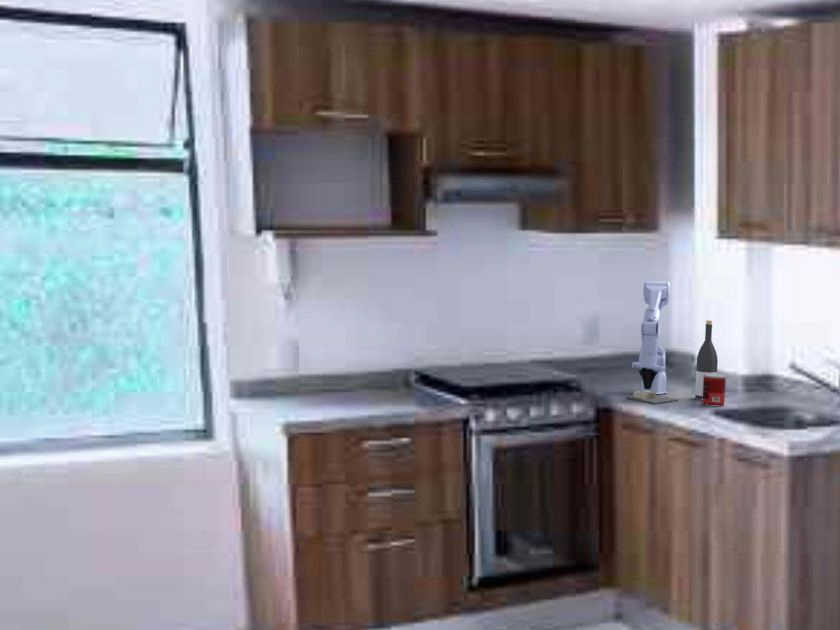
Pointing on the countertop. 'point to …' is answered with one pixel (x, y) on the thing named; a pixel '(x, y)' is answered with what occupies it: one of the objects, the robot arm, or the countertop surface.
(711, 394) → the canned food
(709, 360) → the wine bottle
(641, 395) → the pale green block
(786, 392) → the countertop surface
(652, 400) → the rubber mat
